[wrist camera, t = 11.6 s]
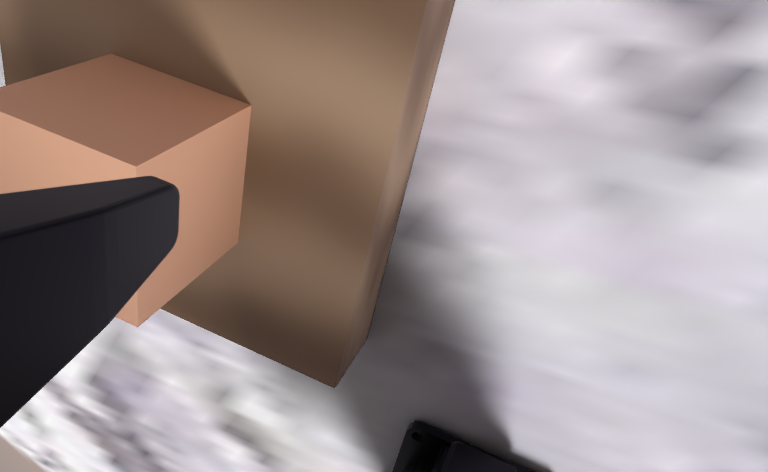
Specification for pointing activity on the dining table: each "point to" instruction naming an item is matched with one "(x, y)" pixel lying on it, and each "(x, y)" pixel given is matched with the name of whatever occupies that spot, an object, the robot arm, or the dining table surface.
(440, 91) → the dining table surface
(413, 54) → the walnut base
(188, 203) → the terracotta block
